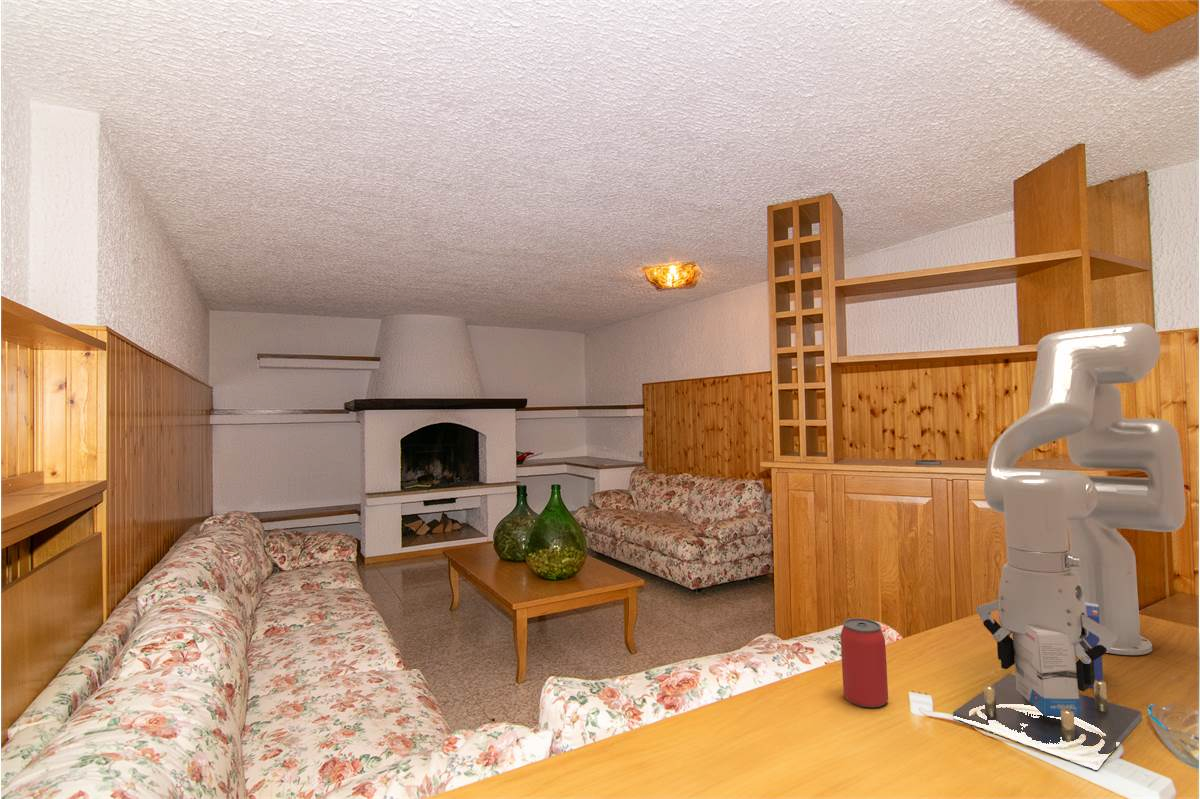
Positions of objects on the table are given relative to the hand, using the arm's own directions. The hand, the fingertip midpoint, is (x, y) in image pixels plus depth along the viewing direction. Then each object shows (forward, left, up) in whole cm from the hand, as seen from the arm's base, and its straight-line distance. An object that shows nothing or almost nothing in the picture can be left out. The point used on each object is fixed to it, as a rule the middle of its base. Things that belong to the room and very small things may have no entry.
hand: (1044, 676), depth 89 cm
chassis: (0, 0, -6) cm, 6 cm away
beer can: (+14, -20, -6) cm, 25 cm away
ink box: (0, 0, -4) cm, 4 cm away
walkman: (-20, 0, -6) cm, 21 cm away
